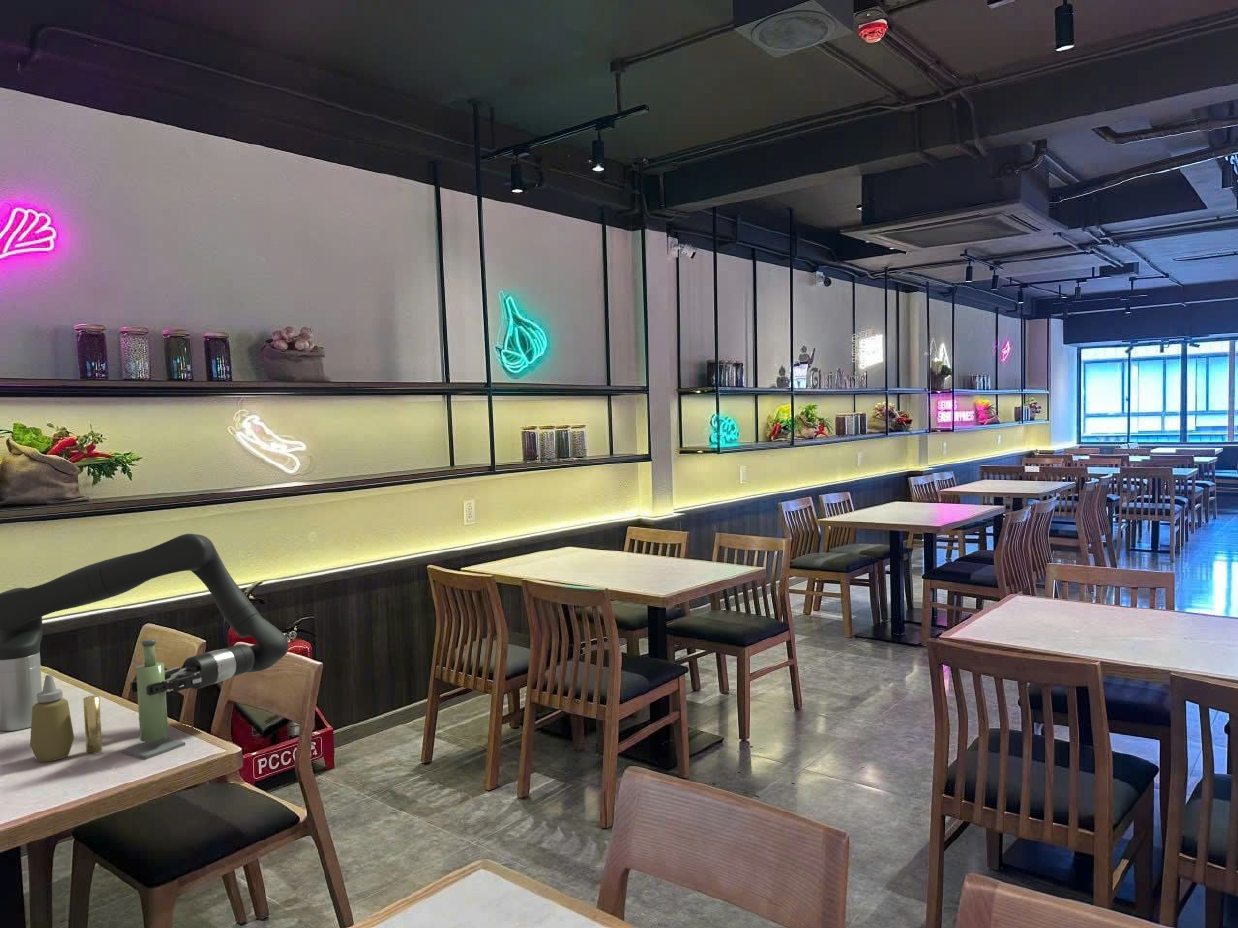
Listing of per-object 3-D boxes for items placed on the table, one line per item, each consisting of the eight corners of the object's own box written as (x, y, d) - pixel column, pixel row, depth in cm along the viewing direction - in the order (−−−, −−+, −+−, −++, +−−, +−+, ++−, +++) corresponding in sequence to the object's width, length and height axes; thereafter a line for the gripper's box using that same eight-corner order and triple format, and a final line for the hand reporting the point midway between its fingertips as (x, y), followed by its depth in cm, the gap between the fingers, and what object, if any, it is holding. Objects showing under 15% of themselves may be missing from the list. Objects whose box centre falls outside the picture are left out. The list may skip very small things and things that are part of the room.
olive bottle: (135, 739, 184) (129, 642, 183) (158, 731, 189) (152, 636, 188) (149, 742, 182) (144, 644, 181) (173, 734, 186) (167, 638, 186)
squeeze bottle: (47, 766, 177) (43, 682, 176) (21, 762, 180) (16, 679, 179) (84, 752, 184) (79, 671, 184) (58, 748, 187) (53, 669, 187)
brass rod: (83, 752, 184) (80, 698, 184) (97, 747, 187) (94, 694, 187) (91, 754, 183) (88, 700, 182) (105, 749, 186) (102, 696, 185)
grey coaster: (121, 752, 183) (121, 749, 183) (160, 738, 191) (160, 736, 191) (146, 759, 179) (145, 756, 179) (185, 744, 187) (185, 742, 187)
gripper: (189, 649, 201) (118, 668, 186) (228, 655, 194) (158, 675, 179) (191, 680, 201) (121, 702, 186) (230, 687, 194) (160, 710, 179)
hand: (139, 689), depth 183 cm, fingers closed on olive bottle, 5 cm apart
